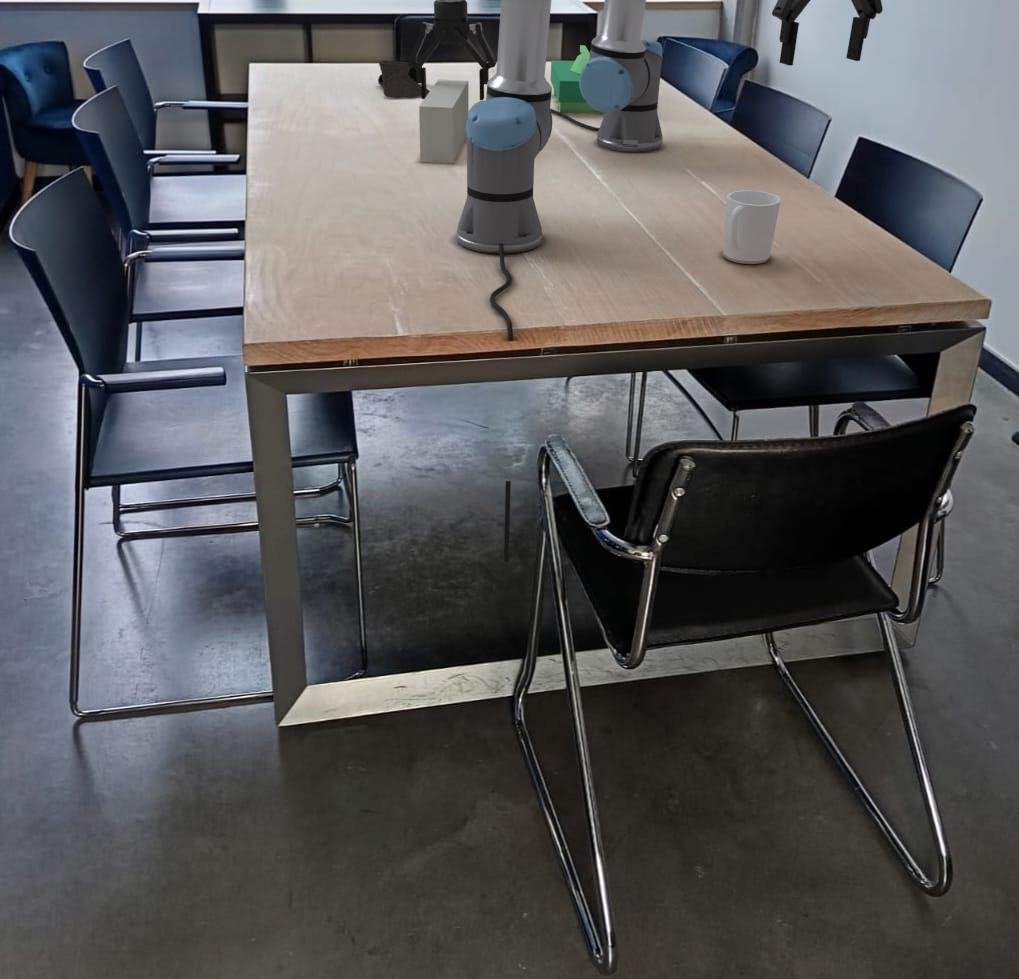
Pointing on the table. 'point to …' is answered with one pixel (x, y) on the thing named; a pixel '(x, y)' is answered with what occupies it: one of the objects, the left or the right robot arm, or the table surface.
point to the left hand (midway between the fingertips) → (819, 62)
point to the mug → (750, 226)
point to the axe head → (399, 80)
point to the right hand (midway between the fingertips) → (453, 98)
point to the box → (443, 121)
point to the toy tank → (571, 84)
